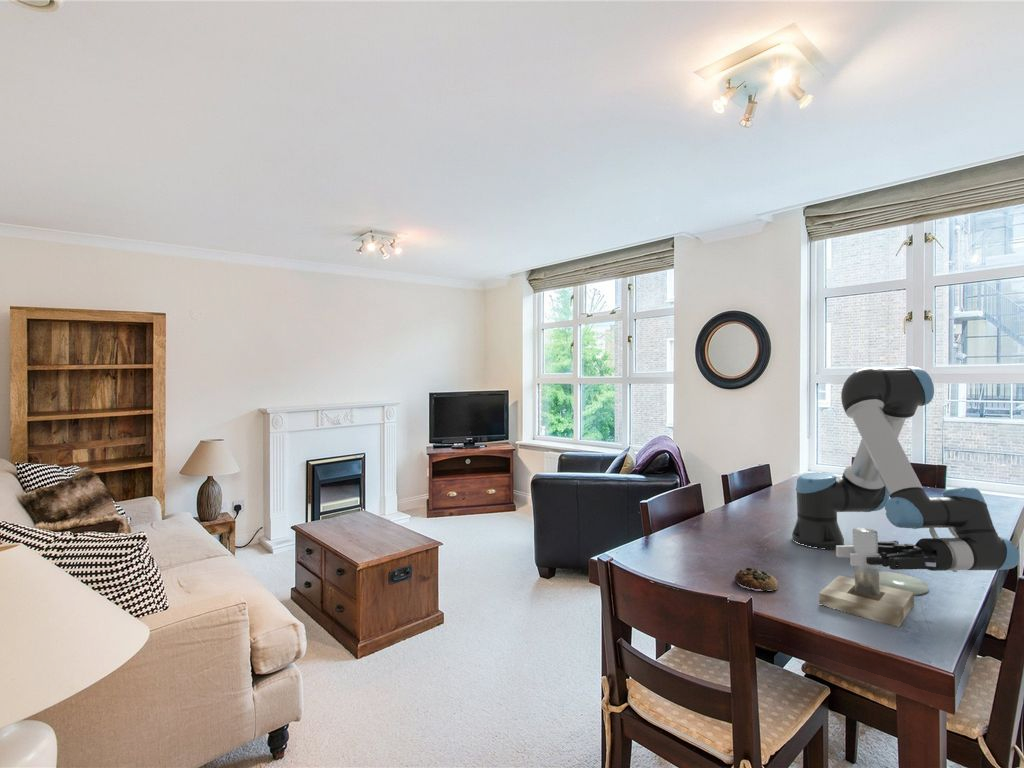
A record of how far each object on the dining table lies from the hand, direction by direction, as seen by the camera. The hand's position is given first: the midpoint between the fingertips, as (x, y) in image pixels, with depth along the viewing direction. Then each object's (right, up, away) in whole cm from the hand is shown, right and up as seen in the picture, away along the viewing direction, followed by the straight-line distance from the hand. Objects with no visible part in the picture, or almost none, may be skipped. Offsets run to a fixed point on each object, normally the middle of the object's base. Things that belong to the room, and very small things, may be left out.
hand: (844, 555), depth 124 cm
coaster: (+22, -12, +12) cm, 28 cm away
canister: (+6, -9, 0) cm, 10 cm away
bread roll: (-14, -13, +15) cm, 25 cm away
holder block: (+6, -12, 0) cm, 14 cm away
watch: (+53, -11, +32) cm, 63 cm away
